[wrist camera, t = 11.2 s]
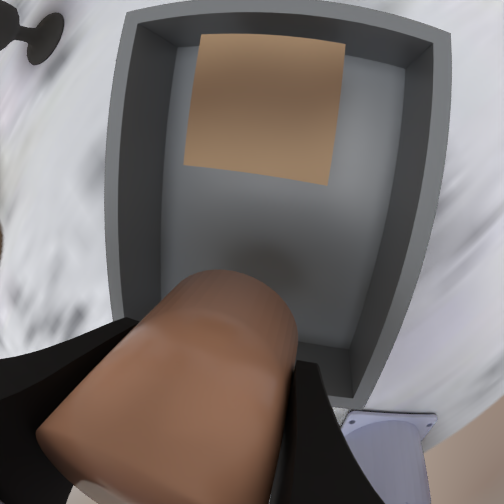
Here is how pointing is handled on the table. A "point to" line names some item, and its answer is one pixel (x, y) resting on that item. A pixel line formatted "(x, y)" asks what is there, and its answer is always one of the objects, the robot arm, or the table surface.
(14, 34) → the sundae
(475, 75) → the table surface
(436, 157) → the tote
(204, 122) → the walnut cube
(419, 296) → the table surface
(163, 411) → the terracotta cylinder
